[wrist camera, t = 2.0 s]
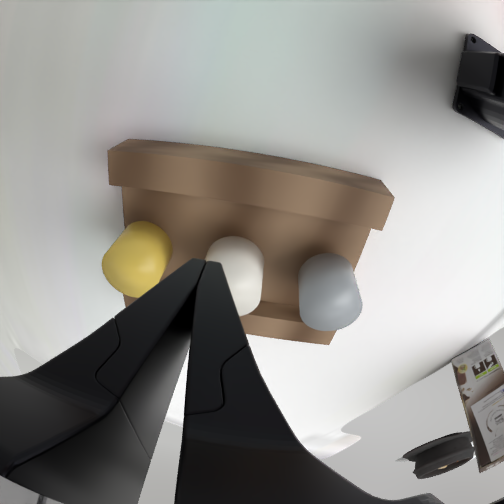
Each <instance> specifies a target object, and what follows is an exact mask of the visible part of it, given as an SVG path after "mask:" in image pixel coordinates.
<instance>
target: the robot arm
mask: <svg viewBox="0 0 504 504" xmlns="http://www.w3.org/2000/svg"><path fill="white" fill-rule="evenodd" d="M471 38H472V39H473V42H472V41H471ZM459 104H460V105H461V108H460V109H459V108H458V105H459ZM453 109H454V110H455V111H456V112H457V113H459V114H461V115H463V116H465V117H467V118H469V119H471V120H473V121H474V122H476V123H478V124H480V125H482V126H483V127H485V128H487V129H489V130H490V131H492V132H494V133H495V134H497V135H499V136H500V137H502V138H503V139H504V53H501V52H500V51H498V50H497V49H495V48H494V47H493V46H491V45H490V44H488V43H487V42H485V41H484V40H482V39H481V38H479V37H478V36H476V35H474V34H467V35H466V36H465V43H464V50H463V52H462V55H461V61H460V67H459V72H458V77H457V88H456V92H455V97H454V101H453ZM114 318H115V319H114ZM114 318H112V319H110V320H109V321H108V322H106V323H105V324H104V325H102V326H101V327H100V328H98V329H97V330H96V331H94V332H93V333H92V334H90V335H89V336H87V337H86V338H84V339H83V340H81V341H80V342H78V343H77V344H75V345H74V346H72V347H70V348H69V349H67V350H66V351H64V352H62V353H61V354H59V355H58V356H56V357H54V358H53V359H51V360H50V361H48V362H46V363H45V364H43V365H42V366H40V367H39V368H37V369H35V370H33V371H31V372H29V373H26V374H23V375H19V376H12V377H0V504H138V501H139V497H140V494H141V491H142V488H143V484H144V481H145V478H146V475H147V472H148V468H149V465H150V462H151V459H152V456H153V453H154V449H155V446H156V443H157V440H158V437H159V434H160V431H161V428H162V425H163V422H164V419H165V416H166V413H167V410H168V407H169V404H170V401H171V398H172V396H173V393H174V390H175V387H176V384H177V381H178V378H179V375H180V372H181V370H182V367H183V364H184V361H185V358H186V355H187V352H188V350H189V359H188V370H187V381H186V394H185V407H184V421H183V434H182V444H181V451H180V459H179V467H178V475H177V484H176V492H175V502H174V504H444V503H443V502H441V501H440V500H439V499H438V498H436V497H435V496H434V495H432V494H431V493H427V494H421V495H417V496H413V497H409V498H405V499H400V500H385V499H381V498H378V497H374V496H372V495H370V494H368V493H367V492H365V491H363V490H362V489H360V488H359V487H357V486H356V485H354V484H353V483H351V482H350V481H348V480H347V479H345V478H344V477H342V476H341V475H340V474H338V473H337V472H335V471H334V470H333V469H331V468H330V467H328V466H327V465H326V464H324V463H323V462H322V461H320V460H319V459H318V458H316V457H315V456H314V455H312V454H311V453H310V452H309V451H308V450H307V449H306V448H305V447H304V446H303V445H302V444H301V443H300V441H299V440H298V439H297V437H296V436H295V434H294V433H293V431H292V430H291V428H290V426H289V424H288V423H287V421H286V419H285V418H284V416H283V414H282V412H281V411H280V409H279V407H278V405H277V404H276V402H275V400H274V398H273V397H272V395H271V393H270V391H269V389H268V387H267V385H266V383H265V381H264V379H263V377H262V376H261V374H260V371H259V369H258V366H257V364H256V361H255V359H254V356H253V354H252V351H251V348H250V346H249V343H248V340H247V337H246V334H245V331H244V329H243V326H242V323H241V320H240V317H239V314H238V311H237V308H236V305H235V302H234V300H233V297H232V294H231V291H230V288H229V285H228V282H227V279H226V276H225V273H224V270H223V267H222V264H221V263H220V262H215V261H207V262H206V260H203V259H198V258H192V259H190V260H189V261H187V262H186V263H185V264H183V265H182V266H181V267H179V268H178V269H177V270H175V271H174V272H172V273H171V274H170V275H168V276H167V277H166V278H164V279H163V280H162V281H160V282H159V283H158V284H156V285H155V286H154V287H152V288H151V289H150V290H148V291H147V292H146V293H144V294H143V295H142V296H140V297H139V298H138V299H136V300H135V301H134V302H133V303H131V304H130V305H129V306H127V307H126V308H125V309H123V310H122V311H121V312H119V313H118V314H117V315H116V316H115V317H114ZM189 347H190V349H189ZM490 504H504V497H503V498H501V499H499V500H497V501H495V502H492V503H490Z"/></svg>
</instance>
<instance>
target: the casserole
mask: <svg viewBox="0 0 504 504" xmlns="http://www.w3.org/2000/svg"><path fill="white" fill-rule="evenodd" d="M470 442H472V436H471V433H470V431H469V432H463V433H462V432H460V433H453V434H450V435H447V436H444V437H441V438H438V439H435V440H433V441H430V442H428V443H425V444H423V445H421V446H419V447H417V448H415V449H413V450H411V451H409V452H407V453H406V454H405V455H403V458H406V459H408V460H409V461H413V462H416V463H415V470H414V472H413V473H414V474H416V476H417V478H418V479H424V478H429V477H433V476H436V475H439V474H442V473H445V472H448V471H450V470H453V469H454V468H457V467H459V466H461V465H463V464H465V463H466V462H468V461H469V460H471V459H472V458H473V453H474V451H475V449H474V447H472V445H471V443H470Z"/></svg>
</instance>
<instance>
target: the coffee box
mask: <svg viewBox="0 0 504 504" xmlns="http://www.w3.org/2000/svg"><path fill="white" fill-rule="evenodd" d="M452 365H453V369H454V373H455V377H456V382H457V386H458V389H459V392H460V396H461V399H462V403H463V406H464V410H465V414H466V417H467V421H468V425H469V428H470V433H471V436H472V441H473V445H474V449H475V454H476V459H477V463H478V468H479V472H480V473H481V472H483V471H485V470H487V469H490V468H491V467H493V466H495V465H497V464H499V463H501V462H503V461H504V371H503V368H502V366H501V364H500V361H499V359H498V357H497V354H496V352H495V350H494V348H493V345H492V343H491V341H490V339H487V340H486V341H484V342H482V343H481V344H479V345H477V346H475V347H474V348H472V349H470V350H468V351H466V352H465V353H463V354H461V355H459V356H457V357H455V358H453V359H452Z"/></svg>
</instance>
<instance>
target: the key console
mask: <svg viewBox="0 0 504 504" xmlns="http://www.w3.org/2000/svg"><path fill="white" fill-rule="evenodd" d="M108 172H109V185H114V186H122V199H123V213H124V225H125V229H126V228H127V226H128V225H130V224H131V223H133V222H137V221H147V222H150V223H153V224H155V225H157V226H159V227H160V228H161V229H162V230H163V231H164V232H165V233H166V234H167V235H168V237H169V238H170V240H171V243H172V247H173V253H172V257H171V259H170V261H169V263H168V265H167V267H166V269H165V271H164V273H163V275H162V277H161V279H160V281H162V280H163V279H164V278H166V277H167V276H168V275H170V274H171V273H172V272H174V271H175V270H177V269H178V268H179V267H181V266H182V265H183V264H185V263H186V262H187V261H189V260H190V259H192V258H198V259H203V260H205V258H206V255H207V252H208V250H209V248H210V246H211V245H212V244H213V243H214V242H215V241H217V240H219V239H221V238H223V237H228V236H237V237H242V238H245V239H248V240H250V241H251V242H253V243H254V244H255V245H256V246H257V247H258V248H259V249H260V250H261V252H262V254H263V257H264V269H263V279H262V289H261V299H260V302H259V304H258V306H257V307H256V308H255V309H254V310H253V311H252V312H250V313H248V314H246V315H243V316H239V317H240V320H241V323H242V326H243V329H244V331H245V334H250V335H257V336H263V337H270V338H277V339H284V340H291V341H299V342H307V343H315V344H324V345H329V344H330V342H331V340H332V338H333V336H334V335H335V333H336V331H337V330H334V331H320V330H316V329H313V328H311V327H309V326H307V325H306V324H305V323H304V322H303V321H302V319H301V317H300V308H299V285H298V274H299V270H300V268H301V266H302V265H303V264H304V263H305V262H306V261H307V260H308V259H310V258H311V257H313V256H316V255H318V254H323V253H334V254H338V255H341V256H343V257H344V258H346V259H347V260H348V261H349V262H350V263H351V265H352V268H353V271H354V270H355V267H356V265H357V263H358V260H359V258H360V255H361V253H362V250H363V248H364V245H365V243H366V240H367V238H368V235H369V233H370V230H371V228H372V229H376V230H381V231H382V230H383V227H384V225H385V222H386V220H387V217H388V214H389V212H390V209H391V206H392V204H393V201H394V198H395V197H394V196H393V195H392V194H391V192H390V191H389V190H388V189H387V187H386V186H385V185H384V184H383V182H382V181H381V180H378V179H374V178H371V177H367V176H363V175H359V174H355V173H351V172H347V171H343V170H339V169H334V168H330V167H325V166H321V165H316V164H312V163H307V162H302V161H297V160H292V159H287V158H281V157H276V156H270V155H265V154H259V153H253V152H246V151H240V150H233V149H226V148H219V147H211V146H203V145H194V144H185V143H175V142H164V141H151V140H137V139H128V140H126V141H124V142H122V143H120V144H119V145H117V146H115V147H113V148H111V149H110V150H108ZM160 281H159V282H160ZM123 296H124V301H125V306H126V307H127V306H129V305H130V304H131V303H133V302H134V301H135V300H136V299H138V298H136V297H131V296H127V295H125V294H123Z"/></svg>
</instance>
